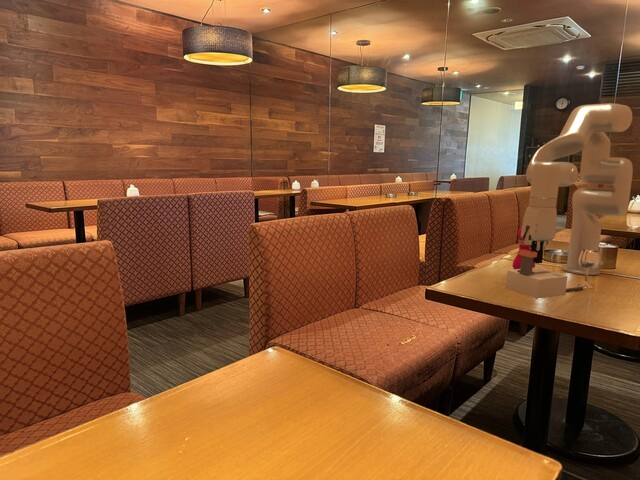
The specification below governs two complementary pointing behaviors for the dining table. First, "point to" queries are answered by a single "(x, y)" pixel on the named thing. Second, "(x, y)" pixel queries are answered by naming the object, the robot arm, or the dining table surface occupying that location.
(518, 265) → the pepper mill
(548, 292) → the box
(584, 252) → the wineglass
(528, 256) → the breaker handle
